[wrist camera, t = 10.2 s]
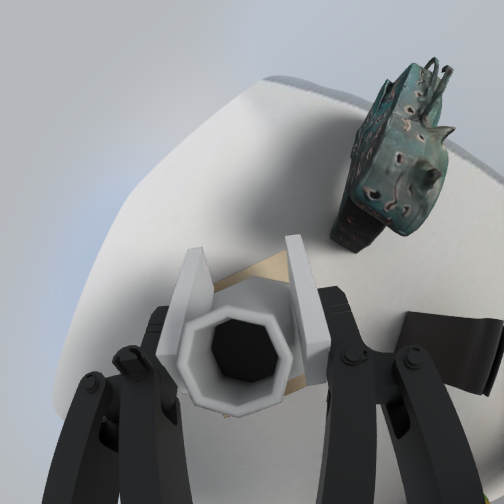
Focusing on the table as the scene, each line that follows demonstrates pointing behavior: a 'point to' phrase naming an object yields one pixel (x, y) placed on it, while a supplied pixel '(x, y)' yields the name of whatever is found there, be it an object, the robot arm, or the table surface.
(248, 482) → the table surface
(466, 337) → the phone stand
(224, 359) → the flask
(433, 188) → the ceramic cat
